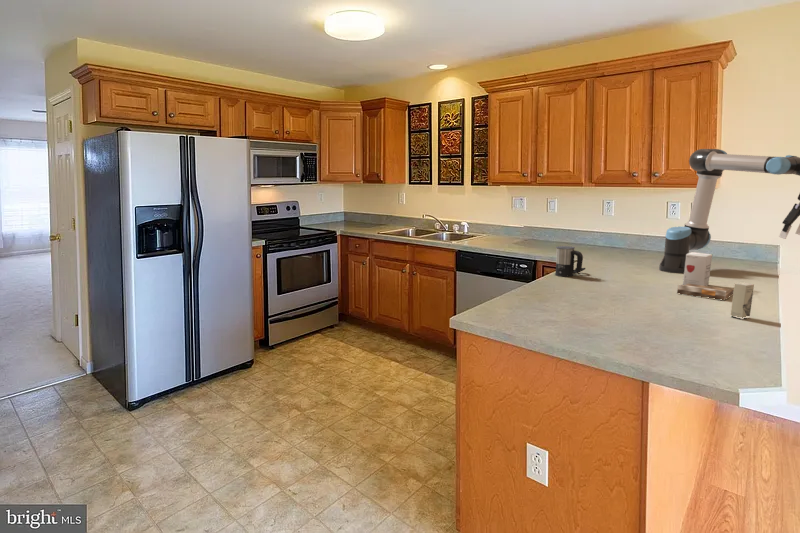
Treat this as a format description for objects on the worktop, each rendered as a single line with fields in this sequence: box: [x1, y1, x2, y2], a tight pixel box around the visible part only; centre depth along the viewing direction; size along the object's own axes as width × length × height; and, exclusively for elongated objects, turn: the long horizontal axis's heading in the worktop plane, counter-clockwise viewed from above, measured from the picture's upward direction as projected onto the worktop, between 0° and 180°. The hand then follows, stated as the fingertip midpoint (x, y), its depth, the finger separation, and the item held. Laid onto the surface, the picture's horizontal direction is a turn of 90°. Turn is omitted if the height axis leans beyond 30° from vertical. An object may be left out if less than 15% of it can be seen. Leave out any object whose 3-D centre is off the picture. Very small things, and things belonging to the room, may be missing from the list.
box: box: [730, 281, 755, 318], centre depth 184 cm, size 5×4×13 cm
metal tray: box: [676, 284, 734, 301], centre depth 220 cm, size 18×16×4 cm
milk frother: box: [554, 245, 586, 278], centre depth 261 cm, size 14×16×15 cm
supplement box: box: [682, 251, 713, 286], centre depth 237 cm, size 9×9×15 cm
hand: (790, 236), depth 235 cm, fingers open, 13 cm apart
